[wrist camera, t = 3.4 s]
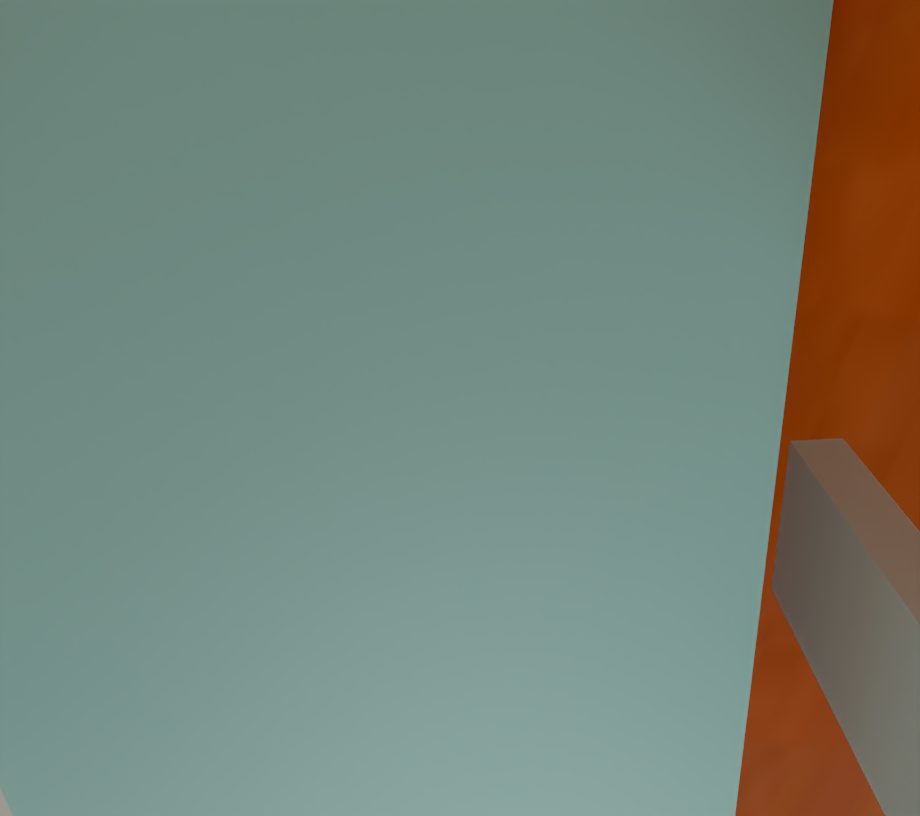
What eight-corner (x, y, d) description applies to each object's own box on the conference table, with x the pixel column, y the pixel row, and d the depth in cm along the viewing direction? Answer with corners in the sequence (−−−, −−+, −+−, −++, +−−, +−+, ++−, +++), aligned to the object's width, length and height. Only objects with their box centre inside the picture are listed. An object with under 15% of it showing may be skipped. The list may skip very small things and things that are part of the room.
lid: (153, 960, 16) (122, 1057, 14) (-246, -69, 8) (-396, -81, 7) (685, 943, 16) (708, 1040, 14) (784, -150, 8) (855, -180, 6)
